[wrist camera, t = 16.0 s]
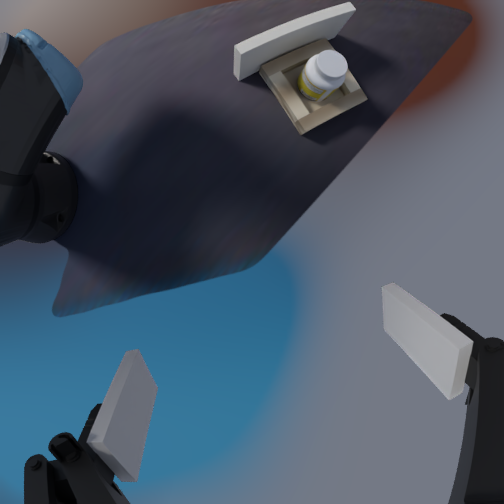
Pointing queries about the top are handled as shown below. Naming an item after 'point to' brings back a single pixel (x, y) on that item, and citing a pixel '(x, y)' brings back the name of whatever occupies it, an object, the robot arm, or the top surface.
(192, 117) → the top surface
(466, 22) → the top surface
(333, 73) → the supplement bottle
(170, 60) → the top surface
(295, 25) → the white backstop wall
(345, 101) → the birch socket block
